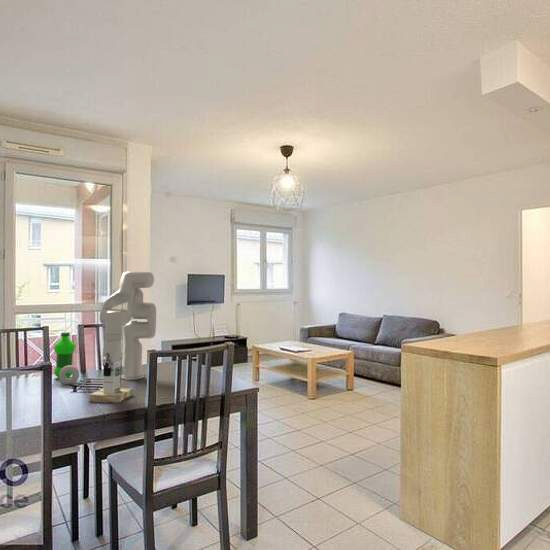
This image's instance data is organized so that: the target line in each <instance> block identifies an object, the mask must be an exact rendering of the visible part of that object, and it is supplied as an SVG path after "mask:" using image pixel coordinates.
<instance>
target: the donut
mask: <svg viewBox="0 0 550 550" xmlns="http://www.w3.org/2000/svg"><path fill="white" fill-rule="evenodd" d="M67 372H71V373H72V375H71V376H70V377H69V378H67V376H66V373H67ZM79 378H80V371H79V369H78V367H76V366H74V365H72V366H71V365H68V366H65V367H63V368H62V369H61V370H60V372H59V378H58V379H59V380H60V382H61V383H62V384H64V385H74V384H75V383H76V382H77V381H78V380H79Z"/></svg>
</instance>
